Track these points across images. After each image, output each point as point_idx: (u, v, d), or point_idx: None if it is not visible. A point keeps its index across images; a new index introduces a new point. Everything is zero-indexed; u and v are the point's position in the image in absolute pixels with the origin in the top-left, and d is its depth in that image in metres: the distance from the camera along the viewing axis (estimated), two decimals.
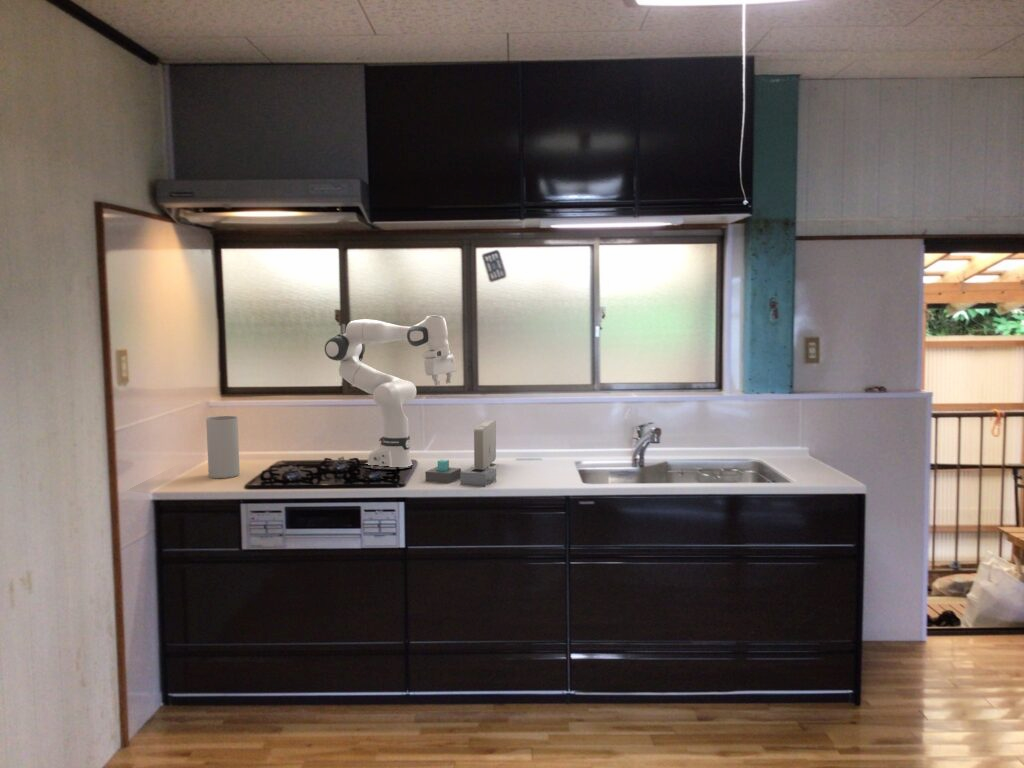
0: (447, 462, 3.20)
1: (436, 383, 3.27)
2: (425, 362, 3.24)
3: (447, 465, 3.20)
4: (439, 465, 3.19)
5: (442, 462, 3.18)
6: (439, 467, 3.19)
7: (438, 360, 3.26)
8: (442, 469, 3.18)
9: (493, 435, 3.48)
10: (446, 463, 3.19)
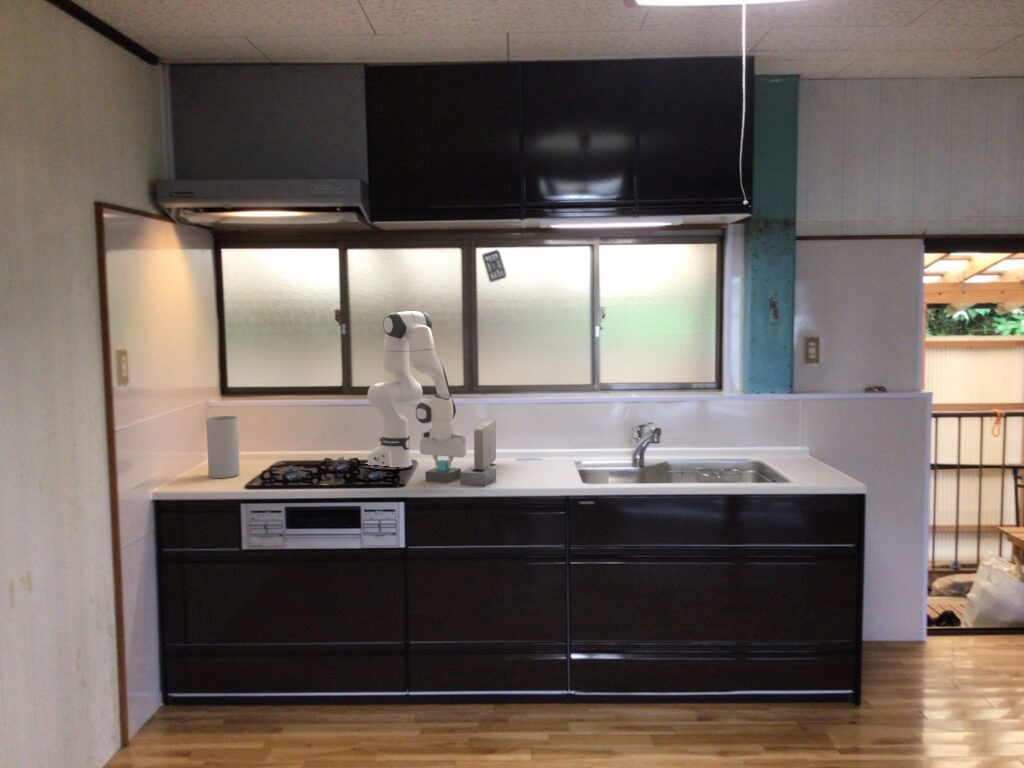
0: None
1: None
2: None
3: None
4: (439, 465, 3.19)
5: (442, 462, 3.18)
6: (439, 467, 3.19)
7: (430, 441, 3.19)
8: (442, 469, 3.18)
9: (493, 435, 3.48)
10: None
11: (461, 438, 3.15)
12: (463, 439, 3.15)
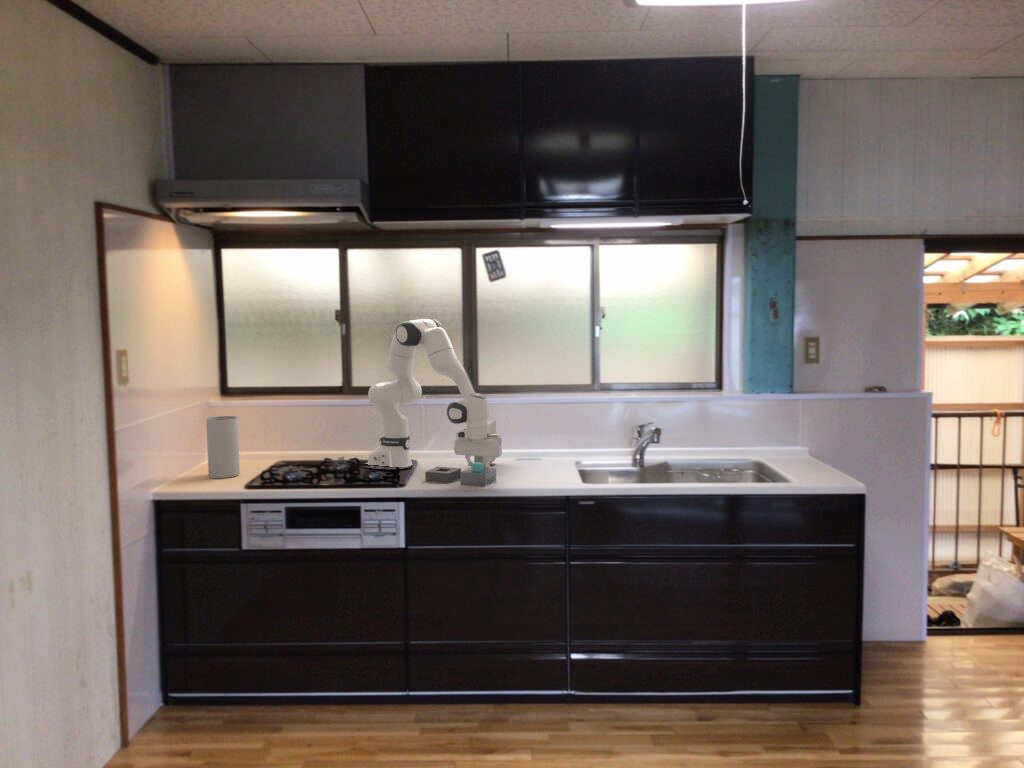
0: (482, 465, 3.14)
1: None
2: None
3: (482, 468, 3.14)
4: (474, 468, 3.13)
5: (477, 465, 3.12)
6: (474, 470, 3.13)
7: (465, 441, 3.13)
8: None
9: None
10: (481, 465, 3.13)
11: (497, 438, 3.09)
12: (499, 439, 3.09)
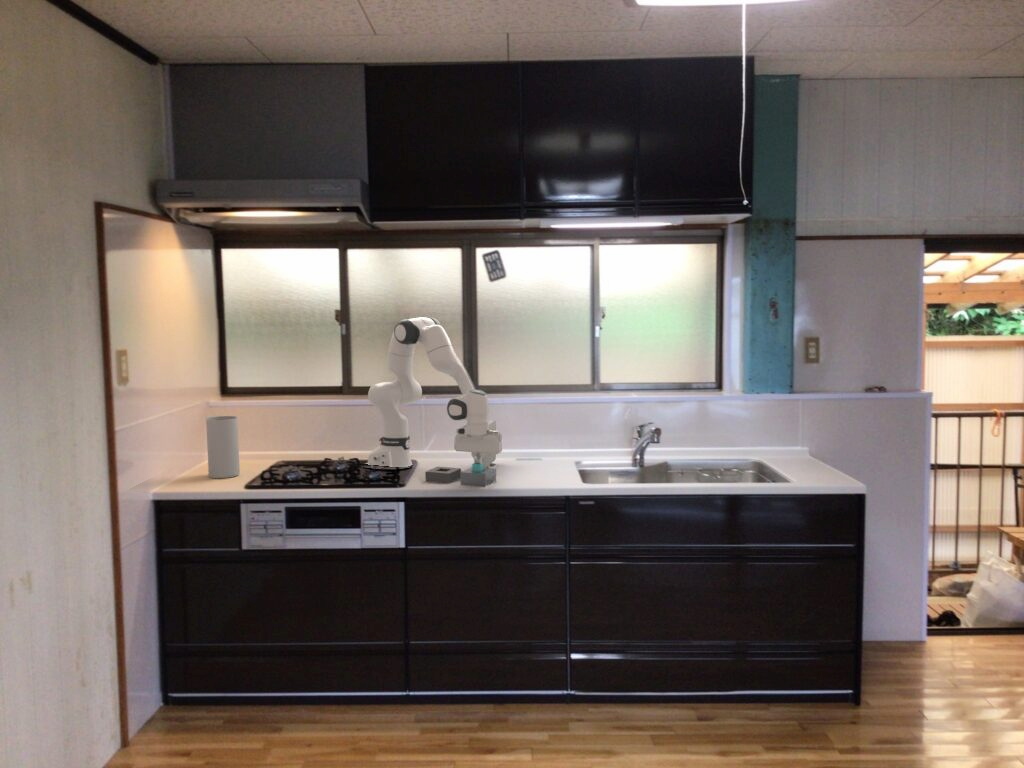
0: (482, 465, 3.14)
1: None
2: None
3: (482, 468, 3.14)
4: (474, 468, 3.13)
5: (477, 465, 3.12)
6: (474, 470, 3.13)
7: (465, 437, 3.13)
8: None
9: None
10: (481, 465, 3.13)
11: (497, 434, 3.09)
12: (499, 435, 3.09)
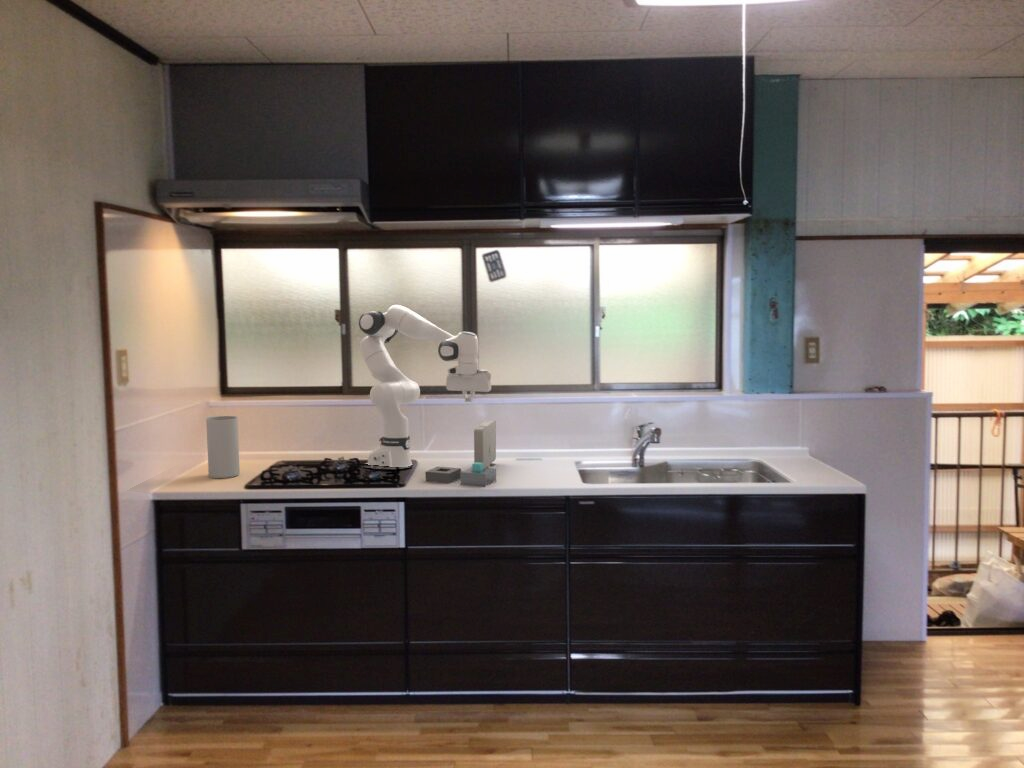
0: (482, 465, 3.14)
1: None
2: None
3: (482, 468, 3.14)
4: (474, 468, 3.13)
5: (477, 465, 3.12)
6: (474, 470, 3.13)
7: (456, 377, 3.30)
8: None
9: (493, 435, 3.48)
10: (481, 465, 3.13)
11: (486, 373, 3.26)
12: (488, 374, 3.26)
